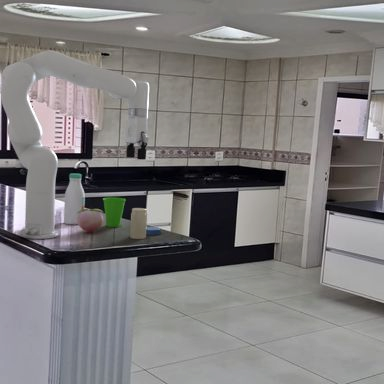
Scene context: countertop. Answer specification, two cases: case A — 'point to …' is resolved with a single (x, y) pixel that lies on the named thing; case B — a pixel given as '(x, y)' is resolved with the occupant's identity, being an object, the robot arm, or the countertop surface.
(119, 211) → the cup
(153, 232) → the jar lid
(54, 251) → the countertop surface
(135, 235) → the jar
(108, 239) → the countertop surface
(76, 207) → the milk bottle
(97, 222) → the decorative fruit
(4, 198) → the countertop surface
